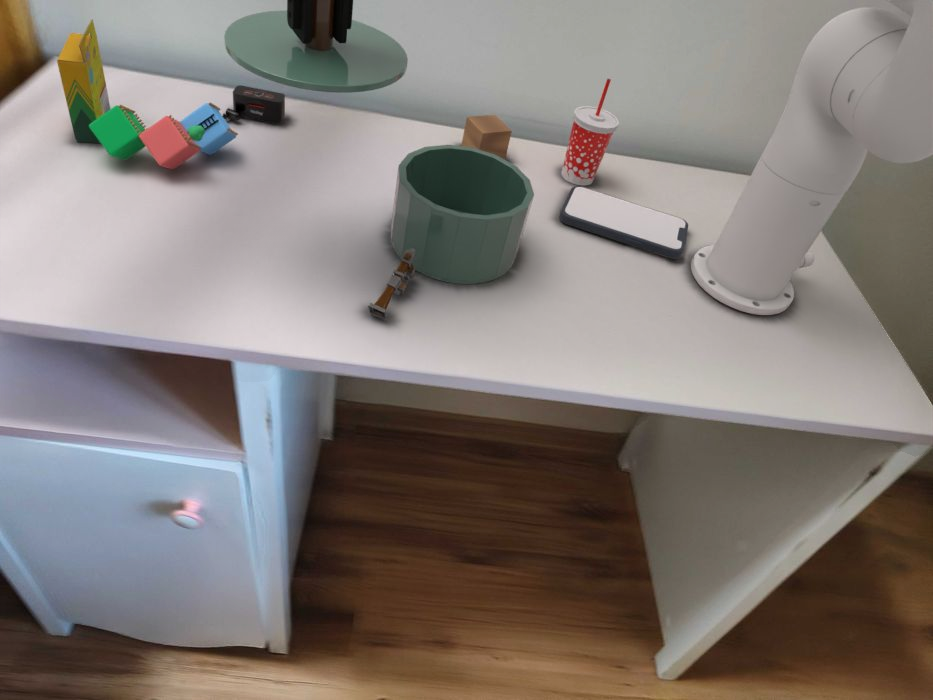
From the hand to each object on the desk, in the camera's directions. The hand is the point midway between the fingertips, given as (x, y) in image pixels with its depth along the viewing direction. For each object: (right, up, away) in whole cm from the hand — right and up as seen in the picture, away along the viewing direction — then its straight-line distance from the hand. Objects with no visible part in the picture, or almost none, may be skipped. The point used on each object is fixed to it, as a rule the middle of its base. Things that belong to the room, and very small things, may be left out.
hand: (319, 35), depth 60 cm
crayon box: (-32, 0, +24) cm, 40 cm away
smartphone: (+33, -11, +30) cm, 46 cm away
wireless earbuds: (-16, +4, +33) cm, 36 cm away
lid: (0, -1, +1) cm, 1 cm away
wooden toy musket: (+5, -22, +11) cm, 25 cm away
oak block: (+15, 0, +37) cm, 40 cm away
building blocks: (-22, -4, +23) cm, 32 cm away
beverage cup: (+28, -3, +38) cm, 47 cm away
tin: (+11, -15, +20) cm, 28 cm away
